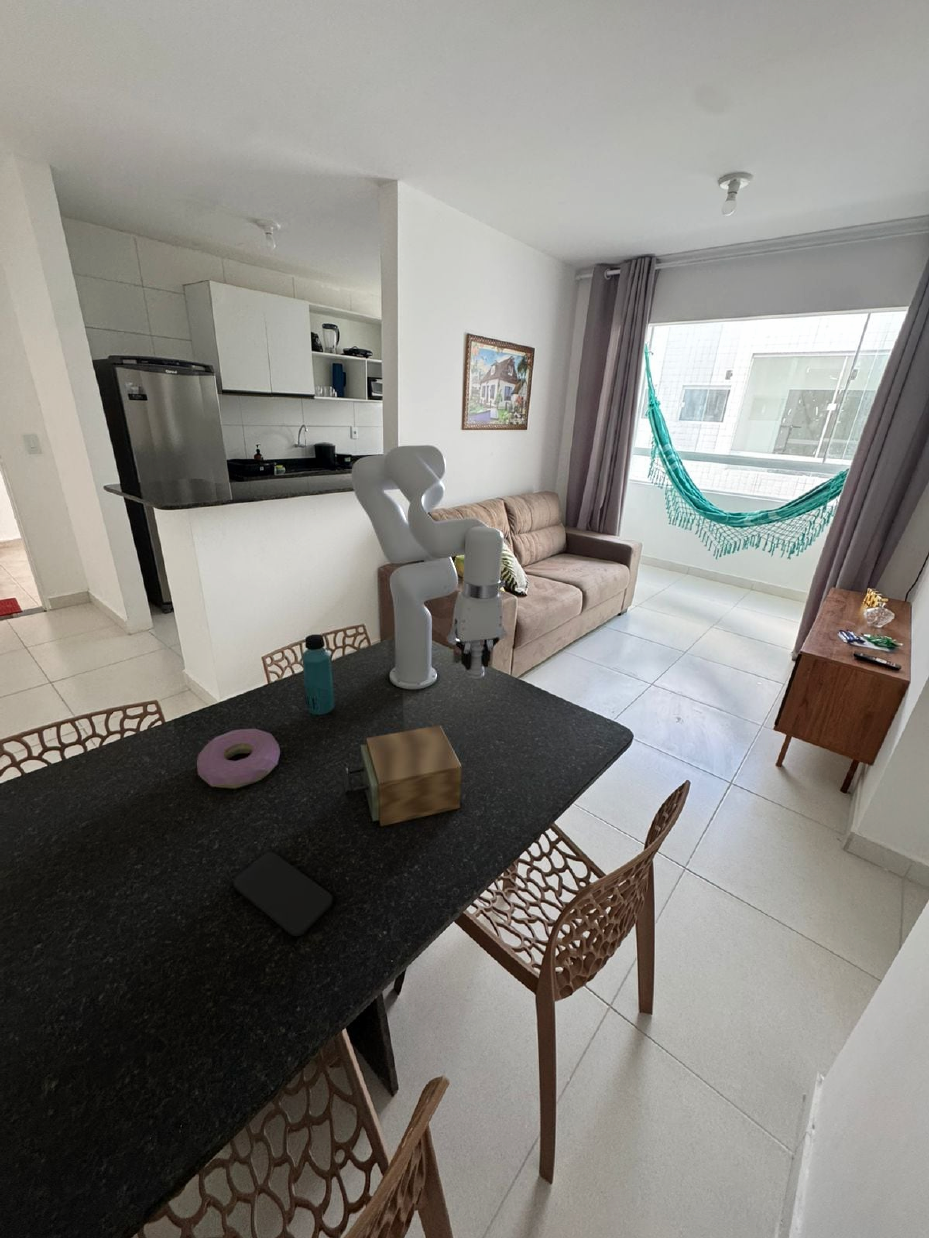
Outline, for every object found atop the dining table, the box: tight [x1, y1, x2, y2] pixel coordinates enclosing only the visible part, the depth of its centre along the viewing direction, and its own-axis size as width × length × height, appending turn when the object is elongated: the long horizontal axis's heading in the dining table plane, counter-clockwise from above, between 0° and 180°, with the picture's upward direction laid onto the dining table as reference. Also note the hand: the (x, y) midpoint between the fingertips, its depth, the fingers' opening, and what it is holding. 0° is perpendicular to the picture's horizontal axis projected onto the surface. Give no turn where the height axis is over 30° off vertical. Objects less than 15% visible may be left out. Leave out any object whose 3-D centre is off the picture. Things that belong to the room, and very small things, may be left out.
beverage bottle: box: [301, 634, 336, 716], centre depth 117 cm, size 6×7×20 cm
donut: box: [196, 728, 281, 790], centre depth 102 cm, size 16×15×5 cm
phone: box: [232, 851, 333, 937], centre depth 77 cm, size 7×1×15 cm
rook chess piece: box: [464, 640, 485, 681], centre depth 112 cm, size 4×4×8 cm
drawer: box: [340, 743, 380, 822], centre depth 95 cm, size 18×12×8 cm, turn 110°
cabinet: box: [365, 724, 462, 827], centre depth 96 cm, size 15×13×10 cm
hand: (475, 664), depth 112 cm, fingers closed on rook chess piece, 3 cm apart
